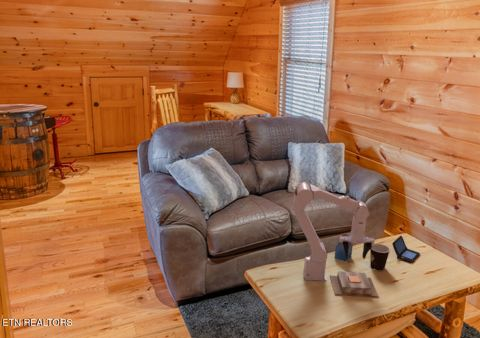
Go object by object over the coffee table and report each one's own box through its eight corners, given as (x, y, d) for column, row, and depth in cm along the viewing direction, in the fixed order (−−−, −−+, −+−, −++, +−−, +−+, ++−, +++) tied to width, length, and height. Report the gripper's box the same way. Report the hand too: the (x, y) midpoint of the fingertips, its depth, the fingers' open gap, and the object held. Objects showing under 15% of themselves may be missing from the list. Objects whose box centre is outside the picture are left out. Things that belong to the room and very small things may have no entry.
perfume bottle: (339, 253, 205) (341, 231, 201) (351, 256, 201) (353, 234, 198) (334, 257, 200) (336, 235, 196) (346, 262, 197) (349, 239, 193)
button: (349, 287, 175) (350, 281, 174) (347, 281, 179) (348, 275, 178) (359, 288, 174) (360, 281, 173) (357, 282, 179) (358, 276, 178)
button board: (334, 295, 171) (335, 287, 170) (329, 276, 184) (330, 269, 183) (378, 297, 170) (379, 290, 169) (370, 278, 183) (371, 271, 182)
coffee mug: (388, 273, 188) (391, 253, 185) (368, 270, 190) (371, 251, 187) (384, 260, 199) (387, 241, 196) (366, 258, 200) (368, 239, 197)
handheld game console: (411, 264, 196) (414, 250, 194) (389, 256, 203) (391, 243, 201) (420, 254, 205) (422, 241, 203) (399, 247, 212) (401, 234, 210)
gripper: (342, 232, 173) (339, 261, 177) (377, 234, 172) (373, 262, 176) (340, 225, 179) (337, 252, 184) (373, 226, 179) (369, 254, 183)
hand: (354, 257), depth 180 cm, fingers open, 7 cm apart
